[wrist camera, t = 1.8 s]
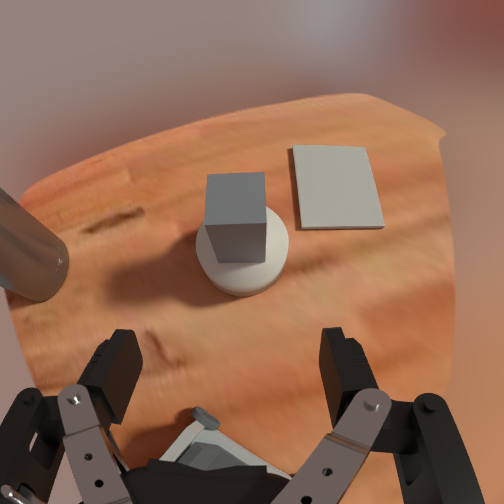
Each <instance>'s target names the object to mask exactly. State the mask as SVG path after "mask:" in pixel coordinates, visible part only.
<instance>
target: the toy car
mask: <svg viewBox="0 0 504 504" xmlns="http://www.w3.org/2000/svg"><path fill="white" fill-rule="evenodd" d="M191 415H192V416H193V418H194V419H195V420H196V421H195V422H193V423H192V424H191V425H189V426H188V427H186V429H185V430H184V431H183V432H182V433H181V435H180V436H179V437H178V438H177V439H176V441H175V442H174V443H173V444H172V445H171V447H170V448H169V449H168V450H167V451H166V452H165V454H164V455H163V456H162V457H161V458H160V459H159V460H164V461H173V462H178V463H181V464H184V465H188V466H191V467H194V468H197V469H201V470H206V471H207V470H214V469H220V468H226V467H231V466H236V465H267V472H268V473H274V474H277V475H280V476H283V477H285V478H288V479H290V480H291V479H292V478H293V477H291V476H289V475H287V474H285V473H284V472H282V471H280V470H278V469H277V468H275V467H273V466H272V465H270V464H268V463H267V462H265V461H263V460H262V459H260V458H259V457H257V456H255V455H254V454H252V453H251V452H249V451H248V450H246V449H244V448H243V447H241V446H240V445H238V444H237V443H235V442H234V441H232V440H231V439H230V438H228V437H227V436H225V435H224V434H222V433H221V432H219V431H218V430H217V428H218V427H219V426H220V422H219V421H218V420H217V419H216V418H215V417H213V416H211V415H209V414H208V413H207V412H206V411H205V410H204V409H202V408H200V407H195V408H194V409H193V410H192V411H191Z"/></svg>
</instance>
